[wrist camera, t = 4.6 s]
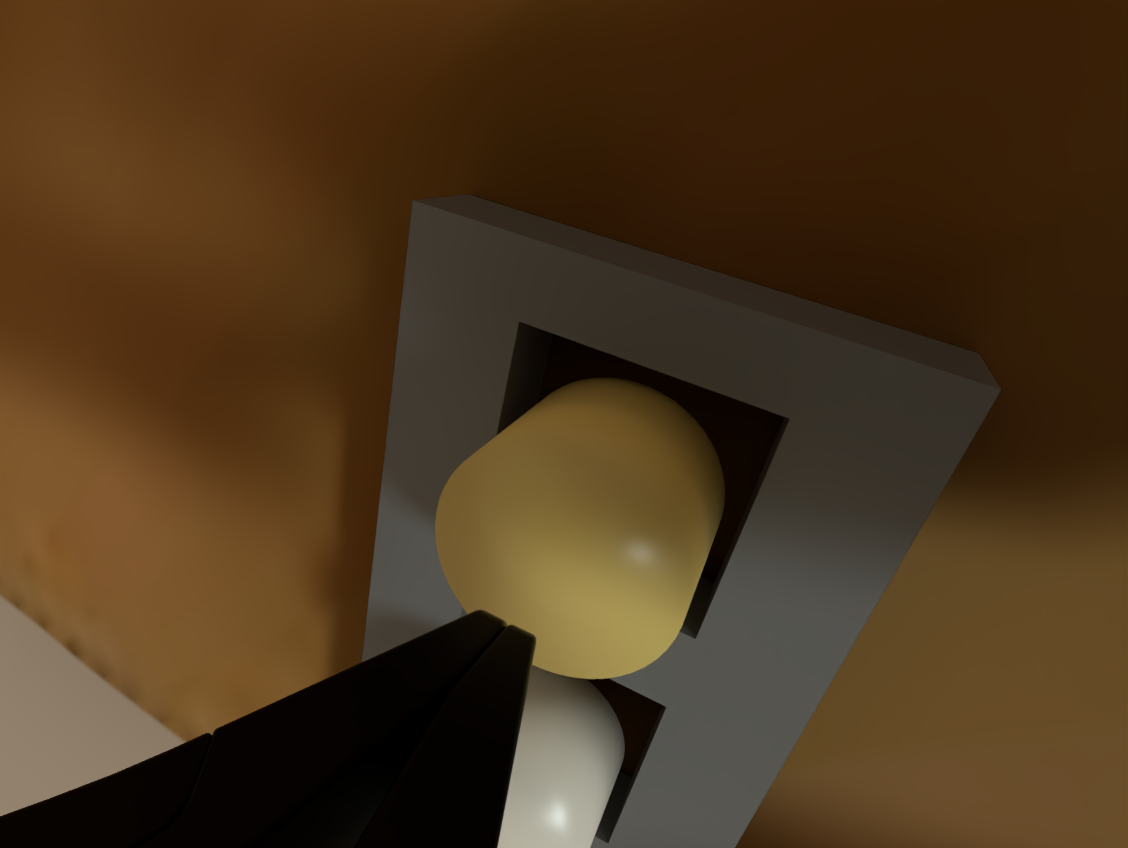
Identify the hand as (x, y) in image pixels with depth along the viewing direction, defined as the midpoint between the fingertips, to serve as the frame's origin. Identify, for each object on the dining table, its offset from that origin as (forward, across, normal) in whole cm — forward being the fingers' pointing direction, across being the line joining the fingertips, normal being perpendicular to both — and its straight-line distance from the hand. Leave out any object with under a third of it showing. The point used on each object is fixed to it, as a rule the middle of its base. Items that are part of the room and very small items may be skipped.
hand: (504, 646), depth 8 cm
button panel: (+7, 0, +7) cm, 10 cm away
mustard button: (+5, 0, 0) cm, 5 cm away
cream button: (+5, 0, +7) cm, 8 cm away
